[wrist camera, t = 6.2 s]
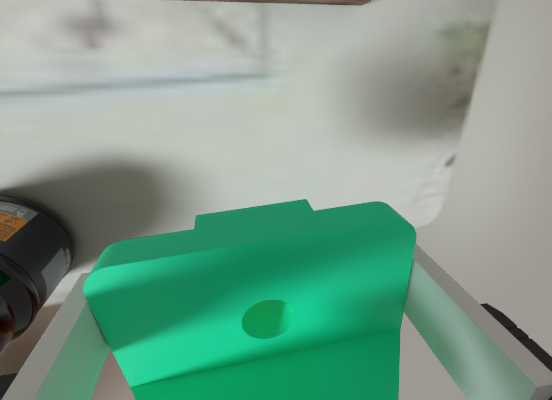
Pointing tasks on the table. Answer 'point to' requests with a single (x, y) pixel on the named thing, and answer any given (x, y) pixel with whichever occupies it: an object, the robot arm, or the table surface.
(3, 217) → the supplement container
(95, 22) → the table surface
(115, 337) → the camera mount
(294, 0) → the tray
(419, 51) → the table surface
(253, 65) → the table surface
